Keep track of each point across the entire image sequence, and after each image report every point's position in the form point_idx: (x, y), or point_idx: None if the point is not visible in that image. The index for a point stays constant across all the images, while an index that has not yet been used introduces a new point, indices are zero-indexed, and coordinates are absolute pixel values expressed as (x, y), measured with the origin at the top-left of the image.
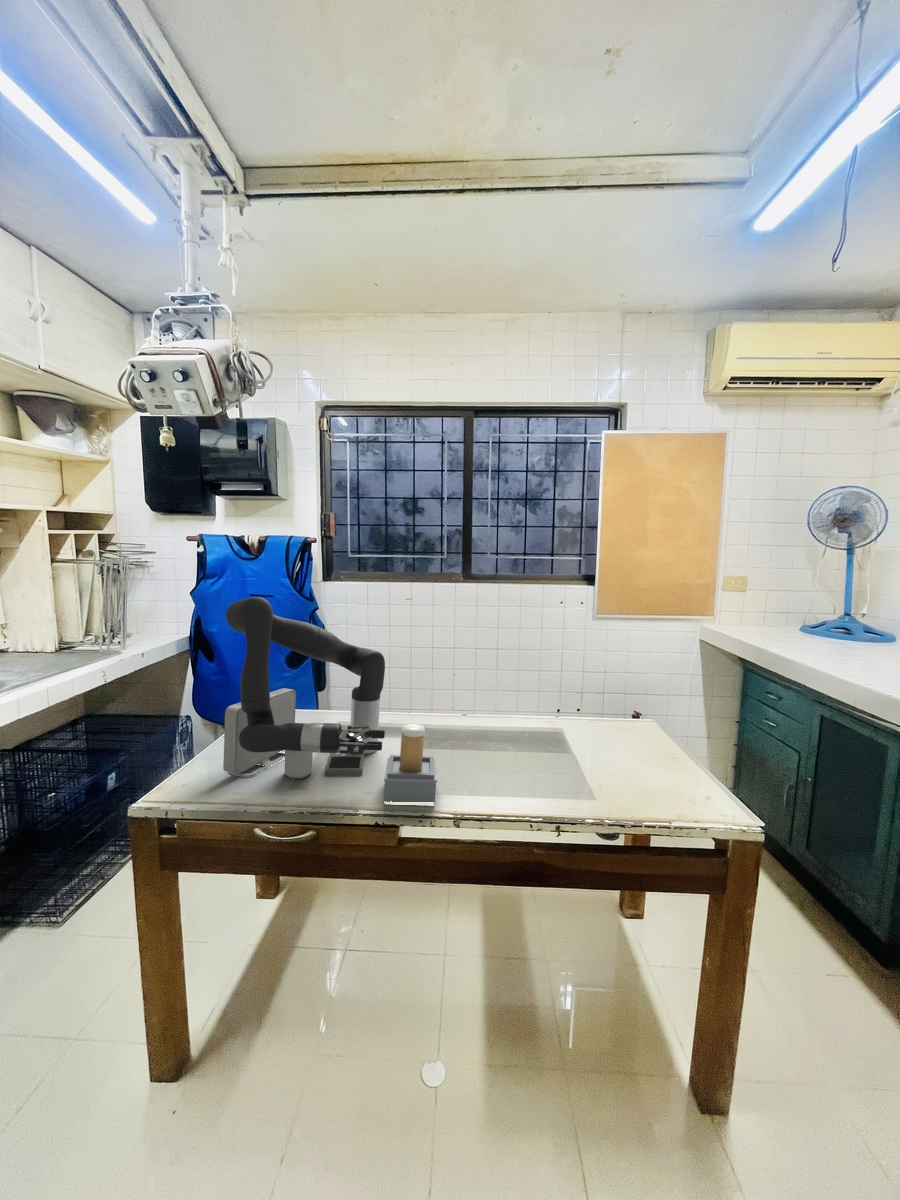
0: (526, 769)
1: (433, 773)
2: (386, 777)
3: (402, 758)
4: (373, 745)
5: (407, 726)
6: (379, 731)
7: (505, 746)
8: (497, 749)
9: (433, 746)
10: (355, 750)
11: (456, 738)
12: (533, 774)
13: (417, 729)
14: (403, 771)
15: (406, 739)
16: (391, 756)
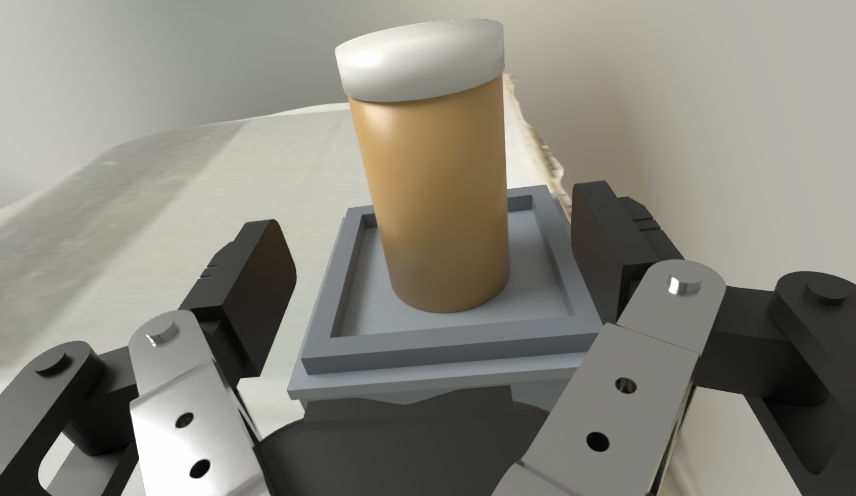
0: (307, 156)
1: (530, 188)
2: None
3: (487, 237)
4: (658, 239)
5: (388, 48)
6: (261, 250)
7: (157, 185)
8: (167, 195)
9: (24, 328)
10: (806, 455)
11: (10, 272)
12: (336, 148)
13: (445, 26)
14: (500, 289)
15: (493, 101)
16: (325, 349)
